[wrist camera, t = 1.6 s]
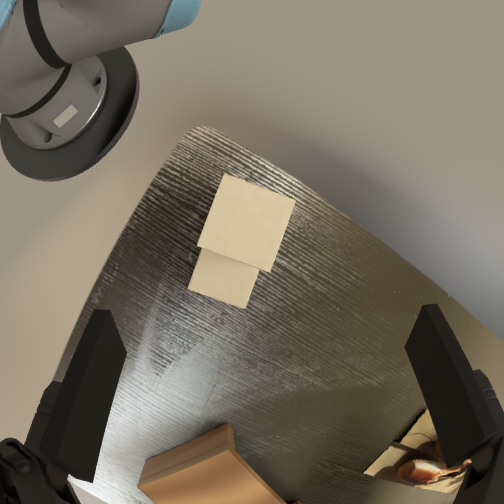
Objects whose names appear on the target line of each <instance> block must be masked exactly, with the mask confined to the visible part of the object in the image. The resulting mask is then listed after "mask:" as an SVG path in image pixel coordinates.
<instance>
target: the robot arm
mask: <svg viewBox="0 0 504 504" xmlns="http://www.w3.org/2000/svg"><path fill="white" fill-rule="evenodd" d="M200 3H201V0H0V113H2V114H3V115H5V116H6V118H7V119H8V121H9V123H10V125H11V126H12V128H13V130H14V131H15V133H16V135H17V136H18V137H19V139H20V140H21V141H22V142H23V143H25V144H26V145H28V146H30V147H32V148H34V149H37V150H41V151H53V150H57V149H61V148H63V147H66V146H68V145H70V144H71V143H73V142H75V141H76V140H77V139H79V138H80V137H81V136H82V135H84V134H85V133H86V132H87V131H88V130H89V129H90V128H91V126H92V125H93V124H94V123H95V121H96V120H97V118H98V117H99V115H100V114H101V112H102V110H103V108H104V106H105V103H106V100H107V97H108V92H109V77H108V73H107V70H106V68H105V67H104V65H103V63H102V62H101V60H100V59H99V58H98V57H97V56H96V55H97V54H100V53H103V52H106V51H109V50H112V49H115V48H118V47H122V46H125V45H128V44H132V43H135V42H139V41H143V40H147V39H154V38H157V37H159V36H160V35H162V34H165V33H169V32H172V31H176V30H179V29H183V28H185V27H187V26H188V25H190V24H191V23H192V22H193V21H194V19H195V18H196V16H197V14H198V11H199V8H200ZM404 348H405V350H406V352H407V355H408V357H409V360H410V362H411V365H412V367H413V370H414V373H415V375H416V378H417V380H418V383H419V386H420V388H421V391H422V394H423V396H424V399H425V402H426V405H427V408H428V410H429V413H430V416H431V419H432V422H433V425H434V428H435V431H436V434H437V437H438V440H439V444H440V447H441V450H442V453H443V457H444V460H445V463H446V467H447V469H448V468H451V467H454V466H457V465H460V464H462V463H463V462H465V461H466V460H467V459H469V458H470V459H471V463H469V464H468V465H467V466H465V467H464V468H463V469H461V471H460V472H459V474H460V475H461V474H462V473H464V472H465V471H466V470H467V471H466V473H465V474H464V478H463V481H462V484H461V486H460V488H459V491H458V493H457V495H456V498H455V500H454V502H453V504H504V412H503V409H502V407H501V405H500V403H499V401H498V398H496V394H495V392H494V390H492V386H491V383H490V381H489V379H488V377H487V376H486V375H485V374H484V373H483V372H482V371H481V370H480V369H478V370H474V371H473V370H472V368H471V366H470V364H469V362H468V360H467V358H466V356H465V354H464V352H463V350H462V348H461V346H460V344H459V342H458V340H457V339H456V337H455V335H454V333H453V331H452V329H451V328H450V326H449V324H448V322H447V320H446V319H445V317H444V315H443V313H442V312H441V310H440V308H439V307H438V305H437V304H428V305H423V306H422V308H421V311H420V313H419V315H418V318H417V320H416V322H415V325H414V327H413V329H412V332H411V334H410V336H409V338H408V340H407V342H406V345H405V347H404ZM126 355H127V351H126V349H125V347H124V344H123V342H122V339H121V337H120V334H119V332H118V329H117V327H116V324H115V322H114V319H113V316H112V314H111V311H110V310H98V309H94V311H93V313H92V315H91V317H90V320H89V322H88V324H87V326H86V328H85V330H84V333H83V335H82V337H81V339H80V342H79V344H78V346H77V348H76V351H75V353H74V355H73V358H72V360H71V362H70V365H69V367H68V370H67V372H66V375H65V377H64V379H63V382H62V383H61V382H56V381H52V382H51V383H50V385H49V386H48V387H47V388H46V389H45V390H44V393H43V395H42V398H41V400H40V404H39V406H38V408H37V413H35V416H34V419H33V421H32V424H31V427H30V430H29V433H28V435H27V439H26V441H25V444H24V445H23V444H22V443H20V442H19V441H18V440H17V439H14V438H7V439H4V440H3V441H1V442H0V504H81V503H80V502H79V500H78V498H77V496H76V494H75V492H74V490H73V488H72V486H71V484H70V482H69V481H68V480H67V478H68V474H70V475H71V476H73V477H74V478H76V479H79V480H83V481H87V482H90V483H93V480H94V475H95V471H96V466H97V462H98V457H99V453H100V449H101V445H102V440H103V436H104V432H105V428H106V425H107V421H108V417H109V413H110V409H111V406H112V402H113V399H114V395H115V392H116V388H117V385H118V381H119V378H120V374H121V371H122V368H123V364H124V361H125V358H126Z"/></svg>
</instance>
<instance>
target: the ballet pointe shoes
mask: <svg viewBox="0 0 504 504" xmlns="http://www.w3.org/2000/svg"><path fill="white" fill-rule="evenodd" d="M388 448H389V449H388V450H386V451H385V452H384V453H383V454H382V455H381V456H380V457H379V458H378V459H377V460H376V461H375V462H374V463H373V464H372V465H371V466H370V467H369V468H368V469H367V470H366V471H365V472H364V473H365V474H368V475H372V476H374V477H378V478H382V479H386V480H389V481H393V482H397V483H398V482H399V483H401V484H406V485H409V486H410V485H411V486H414V487H420V488H423V489H424V488H425V489H428V490H433V491H434V490H435V491H440V492H444V493H451V494H454V493H455V491H456V490H457V489H458V488H459V487H460V486H461V484H462V481H463V478H464V474H465V473H466V471H467V470H466V471H465V472H464V473H462V474H461V475H460V474H459V472H460V471H461V469H463V468H464V467H465V466H467V465H468V464H469V463H471V459H470V458H469V459H467V460H466V461H465V462H463V463H462V464H460V465H457V466H454V467H451V468H448V469H447V467H446V463H445V460H444V457H443V453H442V450H441V447H440V444H439V440H438V437H437V434H436V431H435V428H434V425H433V422H432V419H431V416H430V413H429V410H428V408H427V410H426V413H425V414H423V415H422V416H421V418H419V419H418V422H416V423H415V425H414V426H413V427H412V429H411V430H410V431H409V432H408V434H407V435H406V436H405V437H404V438H403V439H402V442H397V441H394V442H393V443H392V444H391V446H390V447H388Z"/></svg>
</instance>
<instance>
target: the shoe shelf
mask: <svg viewBox="0 0 504 504" xmlns="http://www.w3.org/2000/svg"><path fill="white" fill-rule="evenodd" d="M137 487H138V488H139V489H140V490H141V491H142V492H143V493H144V494H145V495H146V496H147V497H148V498H150V499H151V500H152V501H153V502H154V503H155V504H287V503H286V502H285V501H284V500H283V499H281V498H280V497H279V496H278V495H277V494H276V493H275V492H274V491H273V490H272V489H271V488H270V487H269V486H268V485H267V484H266V483H265V482H264V481H263V480H262V479H261V478H260V477H259V476H258V475H257V474H256V472H255V471H254V470H253V469H252V468H251V467H250V466H249V465H248V464H247V463H246V462H245V461H244V460H243V459H242V458H241V456H240V455H239V454H238V453H237V452H236V451H235V443H234V430H233V429H232V428H231V427H230V426H229V424H228V423H225V424H223V425H221V426H219V427H217V428H215V429H213V430H211V431H209V432H207V433H205V434H203V435H201V436H199V437H197V438H195V439H193V440H191V441H188V442H186V443H184V444H182V445H180V446H177V447H175V448H173V449H171V450H168V451H166V452H164V453H161V454H159V455H157V456H154V457H152V458H150V459H147V460H146V461H145V464H144V467H143V470H142V473H141V477H140V480H139V483H138V486H137ZM291 504H301V503H300V502H299V501H298V500H297V501H295V502H293V503H291Z"/></svg>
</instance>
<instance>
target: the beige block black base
mask: <svg viewBox="0 0 504 504" xmlns="http://www.w3.org/2000/svg"><path fill="white" fill-rule="evenodd" d="M295 202H296V201H295V200H293V199H291V198H288V197H286V196H283V195H281V194H278V193H275V192H273V191H270V190H268V189H265V188H262V187H260V186H257V185H254V184H252V183H249V182H246V181H244V180H241V179H238V178H236V177H233V176H230V175H227V174H224V175H223V177H222V180H221V182H220V185H219V188H218V190H217V193H216V195H215V198H214V201H213V203H212V206H211V208H210V211H209V214H208V216H207V219H206V222H205V224H204V227H203V230H202V233H201V235H200V238H199V241H198V244H197V246H198V247H201V248H202V249H201V251H200V254H199V257H198V260H197V263H196V265H195V268H194V271H193V274H192V277H191V280H190V283H189V286H188V289H189V290H192V291H195V292H197V293H200V294H203V295H206V296H208V297H211V298H214V299H217V300H219V301H222V302H225V303H228V304H231V305H234V306H237V307H239V308H242V309H245V308H246V305H247V302H248V300H249V297H250V294H251V292H252V289H253V286H254V283H255V281H256V278H257V275H258V273H259V270H260V269H261V270H264V271H267V272H270V271H271V268H272V265H273V263H274V260H275V257H276V255H277V252H278V249H279V246H280V243H281V241H282V238H283V235H284V232H285V230H286V227H287V224H288V221H289V218H290V216H291V213H292V210H293V207H294V204H295Z"/></svg>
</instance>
